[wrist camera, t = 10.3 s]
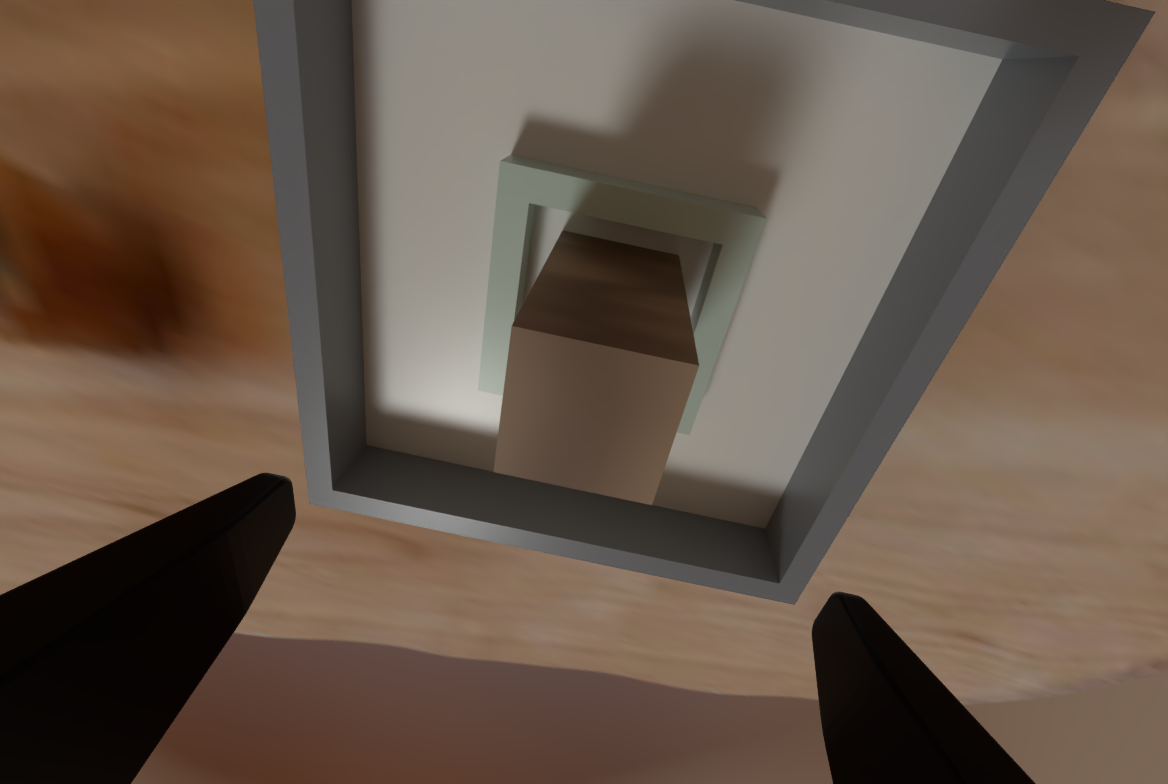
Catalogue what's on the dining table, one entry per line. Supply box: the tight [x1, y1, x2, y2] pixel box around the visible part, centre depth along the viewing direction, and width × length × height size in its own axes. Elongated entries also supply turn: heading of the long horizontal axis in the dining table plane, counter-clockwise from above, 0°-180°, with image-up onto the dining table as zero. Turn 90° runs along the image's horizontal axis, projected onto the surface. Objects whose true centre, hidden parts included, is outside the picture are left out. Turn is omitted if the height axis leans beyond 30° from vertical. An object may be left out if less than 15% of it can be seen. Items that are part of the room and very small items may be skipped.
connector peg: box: [493, 230, 699, 505], centre depth 16 cm, size 4×4×8 cm
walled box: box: [253, 0, 1155, 605], centre depth 18 cm, size 20×20×4 cm
